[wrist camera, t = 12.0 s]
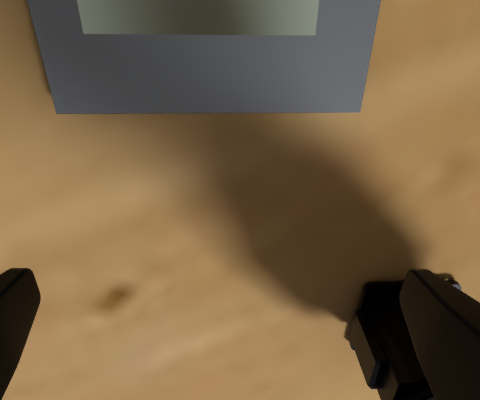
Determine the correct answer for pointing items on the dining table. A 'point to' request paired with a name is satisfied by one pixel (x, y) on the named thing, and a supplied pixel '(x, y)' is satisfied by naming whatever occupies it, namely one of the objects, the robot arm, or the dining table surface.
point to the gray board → (207, 65)
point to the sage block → (199, 17)
